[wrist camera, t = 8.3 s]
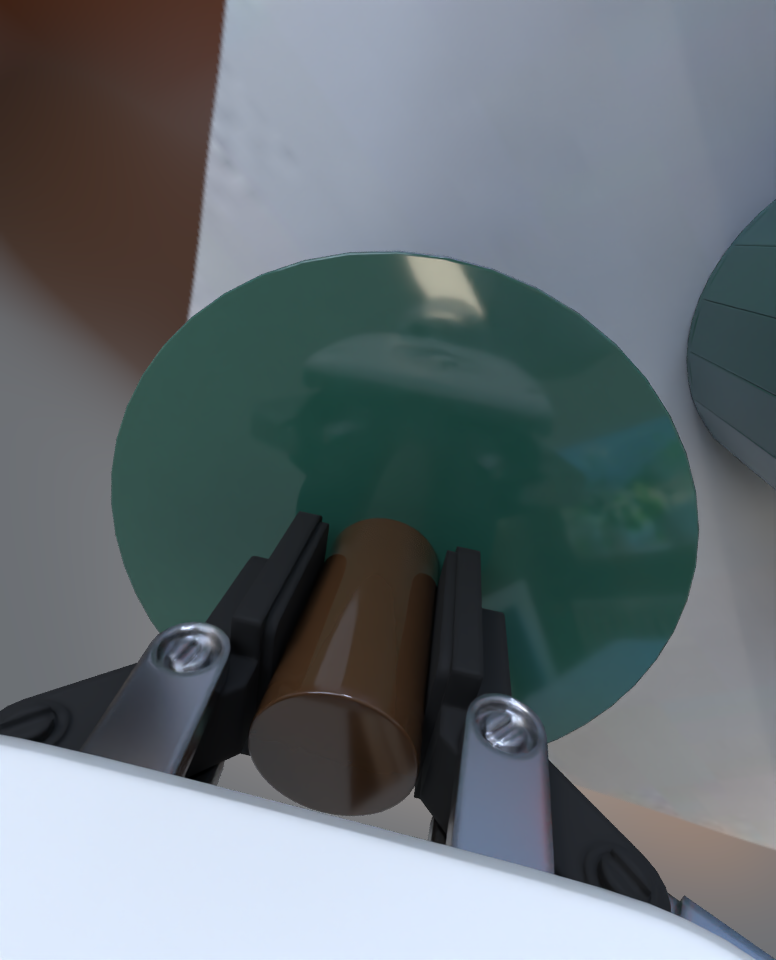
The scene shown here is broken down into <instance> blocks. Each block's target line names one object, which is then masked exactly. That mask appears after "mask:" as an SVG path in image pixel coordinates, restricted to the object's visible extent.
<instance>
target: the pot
mask: <svg viewBox="0 0 776 960" xmlns="http://www.w3.org/2000/svg"><path fill="white" fill-rule="evenodd" d="M687 372H688V382H689V386H690V390H691V395H692V399H693V401H694V404H695V406H696V408H697V411H698V413H699V415H700V417H701V419H702V420H703V422H704V423H705V425H706V427H707V428H708V430H709V431H710V432H711V434H712V436H713V437H714V438H715V439H716V440H717V441H718V442H719V443H720V444H721V445H723V446H724V447H725V448H726V449H727V450H728V451H730V452H731V453H732V454H733V455H734V456H735V457H737V458H738V459H739V460H740V461H741V462H742V463H744V464H745V465H746V466H747V467H748V468H750V469H751V470H752V471H753V472H754V473H756V474H757V475H758V476H759V477H760V478H762V479H763V480H764V481H765V482H766V483H768V484H769V485H770V486H771V487H772V488H774V489H775V490H776V199H775V200H774V201H773V202H772V203H771V204H770V205H768V206H767V207H766V208H765V209H764V210H763V211H761V212H760V213H759V214H758V215H757V216H756V217H755V218H754V219H753V220H752V221H751V223H750V224H749V225H748V226H747V227H746V228H745V229H744V230H743V231H742V232H741V233H740V234H739V235H738V237H737V238H736V239H735V241H734V242H733V243H732V244H731V246H730V247H729V248H728V250H727V251H726V252H725V253H724V255H723V256H722V258H721V260H720V261H719V263H718V264H717V266H716V268H715V269H714V271H713V272H712V274H711V276H710V278H709V280H708V282H707V284H706V286H705V288H704V290H703V292H702V294H701V296H700V299H699V301H698V304H697V307H696V310H695V313H694V316H693V319H692V324H691V328H690V333H689V338H688V348H687Z"/></svg>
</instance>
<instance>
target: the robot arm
mask: <svg viewBox="0 0 776 960" xmlns="http://www.w3.org/2000/svg"><path fill="white" fill-rule="evenodd" d="M328 533H329V523H324V522H322V516H320V515H316V514H311V513H307V512H302V511H299V512H298V513H297V515H296V517H295V518H294V520H293V521H292V523H291V524H290V526H289V528H288V529H287V531H286V532H285V534H284V535H283V537H282V539H281V540H280V542H279V543H278V545H277V546H276V548H275V550H274V551H273V553H272V554H271V556H270V557H269V559H267V558H263V557H258V556H252V557H251V558H250V559H249V560H248V562H247V563H246V565H245V566H244V567H243V569H242V570H241V572H240V573H239V575H238V576H237V577H236V579H235V580H234V582H233V583H232V585H231V586H230V587H229V589H228V590H227V592H226V593H225V595H224V596H223V597H222V599H221V600H220V602H219V603H218V605H217V606H216V607H215V609H214V610H213V612H212V613H211V615H210V616H209V618H208V619H207V620H206V622H205V623H203V622H188V623H181V624H178V625H175V626H172V627H169V628H167V629H166V630H164V631H163V632H161V633H159V634H158V635H157V636H156V637H155V639H154V640H153V641H152V642H151V643H150V645H149V646H148V648H147V649H146V651H145V652H144V654H143V655H142V657H141V658H140V660H139V661H138V663H135V664H132V665H129V666H126V667H123V668H120V669H117V670H113V671H110V672H107V673H104V674H101V675H98V676H95V677H92V678H89V679H85V680H82V681H79V682H76V683H73V684H70V685H67V686H64V687H61V688H57V689H54V690H51V691H48V692H45V693H42V694H39V695H36V696H33V697H30V698H26V699H23V700H21V701H19V702H16V703H14V704H12V705H9V706H7V707H6V708H4V709H3V710H1V711H0V960H776V959H774V958H773V957H771V956H770V955H769V954H767V953H766V952H764V951H763V950H761V949H760V948H759V947H757V946H755V945H754V944H753V943H751V942H750V941H749V940H747V939H746V938H744V937H743V936H741V935H740V934H739V933H737V932H736V931H734V930H733V929H731V928H730V927H728V926H727V925H726V924H724V923H723V922H721V921H720V920H719V919H717V918H716V917H714V916H713V915H711V914H710V913H709V912H707V911H706V910H704V909H703V908H701V907H700V906H699V905H697V904H696V903H694V902H693V901H691V900H690V899H689V898H687V897H686V896H683V898H682V899H681V901H678V900H677V899H676V898H674V897H673V896H672V895H670V894H669V893H667V890H666V887H665V885H664V883H663V882H662V880H661V878H660V876H659V874H658V873H657V871H656V870H655V868H654V867H653V866H652V865H651V864H650V862H649V861H648V860H647V859H646V858H645V857H644V856H643V854H642V853H641V852H640V851H639V850H638V849H637V848H635V846H633V844H632V843H631V842H630V841H629V840H628V839H627V838H626V837H625V836H624V835H623V834H622V833H621V832H620V831H619V830H618V829H617V828H616V827H615V826H614V825H613V824H612V823H611V822H610V821H609V820H608V819H607V818H606V817H605V816H604V815H603V814H602V813H601V812H600V811H599V810H598V809H597V808H596V807H595V806H594V805H593V804H592V803H591V802H590V801H589V800H588V799H587V798H586V797H585V796H584V795H583V794H582V793H581V792H580V791H579V790H578V789H577V788H576V787H575V786H574V785H573V784H572V783H571V782H570V781H569V780H568V779H567V778H566V777H565V776H564V775H563V774H562V773H561V772H560V771H559V770H558V769H557V768H556V767H555V766H554V765H553V764H552V763H551V762H550V761H549V760H548V745H547V735H546V731H545V727H544V725H543V724H542V722H541V720H540V718H539V717H538V716H537V715H536V713H535V712H534V711H533V710H532V709H531V708H530V707H529V706H527V705H526V704H524V703H523V702H521V701H520V700H518V699H516V698H513V697H512V693H511V682H510V670H509V658H508V647H507V635H506V624H505V616H504V614H503V613H502V612H497V611H493V610H489V609H484V608H482V593H481V554H480V551H477V550H472V549H468V548H463V547H459V546H457V548H456V551H455V552H454V551H449V550H447V552H446V556H445V560H444V564H443V567H442V571H441V575H440V579H439V583H438V587H437V595H436V605H435V615H434V625H433V635H432V645H431V655H430V665H429V675H428V685H427V695H426V705H425V715H424V732H423V742H422V752H421V762H420V771H419V776H418V780H417V782H416V785H415V792H414V797H415V798H419V799H421V801H422V802H423V803H424V805H425V806H426V807H427V809H428V810H429V812H430V813H431V814H432V815H433V817H432V820H431V823H430V829H429V835H428V840H424V839H420V838H416V837H413V836H409V835H405V834H401V833H397V832H394V831H390V830H386V829H382V828H378V827H375V826H371V825H366V824H363V823H359V822H355V821H351V820H347V819H343V818H340V817H336V816H332V815H328V814H324V813H320V812H317V811H313V810H309V809H305V808H301V807H297V806H293V805H289V804H285V803H282V802H278V801H274V800H270V799H266V798H262V797H258V796H254V795H250V794H247V793H243V792H239V791H235V790H231V789H227V788H223V787H219V786H217V784H218V781H219V778H220V776H221V773H222V770H223V766H224V761H225V760H227V759H229V758H231V757H233V756H236V755H238V754H240V753H241V754H245V755H249V756H250V753H249V748H248V732H249V727H250V724H251V722H252V719H253V717H254V715H255V713H256V711H257V708H258V706H259V704H260V702H261V700H262V697H263V695H264V693H265V691H266V689H267V686H268V684H269V682H270V680H271V678H272V676H273V673H274V671H275V669H276V667H277V665H278V662H279V660H280V658H281V656H282V654H283V651H284V649H285V647H286V645H287V643H288V641H289V638H290V636H291V634H292V632H293V630H294V627H295V625H296V623H297V621H298V619H299V617H300V614H301V612H302V610H303V608H304V606H305V603H306V601H307V599H308V597H309V595H310V592H311V590H312V588H313V586H314V584H315V582H316V579H317V577H318V575H319V573H320V571H321V568H322V566H323V564H324V561H325V554H326V547H327V540H328Z"/></svg>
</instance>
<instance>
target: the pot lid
mask: <svg viewBox="0 0 776 960" xmlns="http://www.w3.org/2000/svg"><path fill="white" fill-rule="evenodd" d="M111 482H112V483H111V484H112V485H111V505H112V512H113V519H114V526H115V535H116V538H117V542H118V546H119V549H120V553H121V557H122V560H123V564H124V567H125V569H126V572H127V574H128V577H129V579H130V581H131V584H132V586H133V589H134V591H135V593H136V595H137V597H138V599H139V601H140V602H141V604H142V606H143V608H144V610H145V611H146V613H147V615H148V617H149V619H150V620H151V622H152V623H153V625H154V626H155V627H156V629H157V630H158V632H159V633H161V632H163V631H164V630H166V629H167V628H169V627H172V626H175V625H178V624H181V623H188V622H203V623H205V622H206V620H207V619H208V618H209V616H210V615H211V613H212V612H213V610H214V609H215V607H216V606H217V605H218V603H219V602H220V600H221V599H222V597H223V596H224V595H225V593H226V592H227V590H228V589H229V587H230V586H231V585H232V583H233V582H234V580H235V579H236V577H237V576H238V575H239V573H240V572H241V570H242V569H243V567H244V566H245V565H246V563H247V562H248V560H249V559H250V558H251V557H252V556H258V557H263V558H267V559H269V557H270V556H271V554H272V553H273V551H274V550H275V548H276V546H277V545H278V543H279V542H280V540H281V539H282V537H283V535H284V534H285V532H286V531H287V529H288V528H289V526H290V524H291V523H292V521H293V520H294V518H295V517H296V515H297V513H298V512H299V511H302V512H307V513H311V514H316V515H320V516H322V522H324V523H329V533H328V540H327V547H326V554H325V561H324V564H323V566H322V568H321V571H320V573H319V575H318V577H317V579H316V582H315V584H314V586H313V588H312V590H311V592H310V595H309V597H308V599H307V601H306V603H305V606H304V608H303V610H302V612H301V614H300V617H299V619H298V621H297V623H296V625H295V627H294V630H293V632H292V634H291V636H290V638H289V641H288V643H287V645H286V647H285V649H284V651H283V654H282V656H281V658H280V660H279V662H278V665H277V667H276V669H275V671H274V673H273V676H272V678H271V680H270V682H269V684H268V686H267V689H266V691H265V693H264V695H263V697H262V700H261V702H260V704H259V706H258V708H257V711H256V713H255V715H254V717H253V719H252V722H251V724H250V727H249V732H248V748H249V753H250V756H251V758H252V761H253V763H254V765H255V766H256V768H257V770H258V771H259V773H260V774H261V775H262V777H263V778H264V779H265V780H266V781H267V782H268V783H269V784H270V785H271V786H272V787H273V788H275V789H276V790H277V791H278V792H280V793H281V794H282V795H284V796H286V797H287V798H289V799H291V800H292V801H294V802H297V803H298V804H300V805H303V806H305V807H308V808H310V809H313V810H316V811H320V812H323V813H328V814H334V815H341V816H364V815H370V814H375V813H379V812H382V811H385V810H387V809H390V808H392V807H394V806H395V805H397V804H399V803H400V802H401V801H403V800H404V799H405V798H406V797H407V796H408V795H409V794H410V792H411V791H412V789H413V788H414V786H415V785H416V782H417V780H418V776H419V771H420V762H421V752H422V742H423V732H424V715H425V705H426V695H427V685H428V675H429V665H430V655H431V645H432V635H433V625H434V615H435V605H436V595H437V587H438V583H439V579H440V575H441V571H442V567H443V564H444V560H445V556H446V552H447V550H449V551H454V552H455V551H456V548H457V546H459V547H463V548H468V549H472V550H477V551H480V554H481V593H482V608H484V609H489V610H493V611H497V612H502V613H503V614H504V616H505V624H506V635H507V647H508V658H509V670H510V682H511V693H512V697H513V698H516V699H518V700H520V701H521V702H523V703H524V704H526V705H527V706H529V707H530V708H531V709H532V710H533V711H534V712H535V713H536V715H537V716H538V717H539V718H540V720H541V722H542V724H543V725H544V727H545V731H546V735H547V743H550V742H552V741H555V740H557V739H559V738H561V737H563V736H565V735H567V734H569V733H571V732H572V731H574V730H576V729H578V728H580V727H582V726H584V725H586V724H587V723H588V722H590V721H591V720H593V719H594V718H596V717H597V716H598V715H600V714H601V713H603V712H604V711H606V710H607V709H609V708H610V707H611V706H613V705H614V704H615V703H616V702H617V701H618V700H619V699H620V698H621V697H622V696H624V695H625V694H626V693H627V692H628V691H629V690H630V689H631V688H632V687H634V686H635V685H636V683H637V682H638V681H639V680H640V679H641V678H642V676H643V675H644V674H645V673H646V672H647V670H648V669H649V668H650V667H651V666H652V665H653V663H654V662H655V661H656V660H657V658H658V656H659V655H660V653H661V652H662V650H663V648H664V647H665V645H666V644H667V642H668V640H669V639H670V637H671V636H672V634H673V632H674V630H675V628H676V626H677V623H678V621H679V619H680V616H681V614H682V612H683V609H684V607H685V605H686V602H687V600H688V596H689V592H690V588H691V584H692V580H693V576H694V572H695V568H696V559H697V548H698V536H699V523H698V510H697V498H696V490H695V486H694V482H693V478H692V474H691V470H690V466H689V462H688V458H687V454H686V451H685V449H684V447H683V444H682V442H681V440H680V437H679V435H678V433H677V431H676V428H675V426H674V424H673V421H672V419H671V417H670V415H669V413H668V412H667V410H666V408H665V407H664V405H663V404H662V402H661V401H660V399H659V397H658V396H657V394H656V393H655V391H654V390H653V388H652V386H651V385H650V383H649V382H648V380H647V379H646V377H645V376H644V375H643V374H642V373H641V372H640V371H639V370H638V368H637V367H636V366H635V365H634V364H633V363H632V362H631V361H630V359H629V358H628V357H627V356H626V355H625V354H624V353H623V351H622V350H621V349H620V348H619V347H618V346H617V345H616V344H615V343H614V342H613V341H612V340H610V339H609V338H608V337H607V336H606V335H604V334H603V333H602V332H601V331H600V330H598V329H597V328H596V327H595V326H594V325H592V324H591V323H590V322H589V321H588V320H586V319H585V318H584V317H583V316H582V315H580V314H579V313H578V312H576V311H575V310H573V309H571V308H570V307H568V306H566V305H565V304H563V303H561V302H560V301H558V300H557V299H555V298H553V297H552V296H550V295H548V294H547V293H545V292H543V291H542V290H540V289H538V288H537V287H535V286H533V285H530V284H528V283H526V282H523V281H521V280H519V279H516V278H514V277H511V276H509V275H507V274H504V273H502V272H500V271H497V270H495V269H493V268H489V267H485V266H482V265H478V264H474V263H470V262H467V261H463V260H459V259H455V258H452V257H448V256H441V255H432V254H424V253H415V252H407V251H371V252H349V253H343V254H337V255H332V256H326V257H320V258H314V259H309V260H303V261H300V262H297V263H294V264H291V265H288V266H285V267H282V268H279V269H276V270H273V271H270V272H267V273H264V274H261V275H259V276H257V277H256V278H254V279H252V280H250V281H248V282H246V283H244V284H242V285H240V286H238V287H236V288H234V289H232V290H230V291H228V292H226V293H224V294H223V295H221V296H220V297H219V298H217V299H216V300H215V301H213V302H212V303H210V304H209V305H208V306H206V307H205V308H204V309H202V310H201V311H199V312H198V313H197V314H195V315H194V316H193V317H191V318H190V319H189V320H188V321H187V322H186V323H185V324H184V325H183V326H182V327H181V328H180V329H179V330H178V332H176V333H175V334H174V335H173V336H172V337H171V339H169V340H168V341H167V342H166V343H165V345H164V346H163V347H162V348H161V350H160V351H159V353H158V354H157V356H156V357H155V358H154V360H153V361H152V362H151V364H150V365H149V367H148V368H147V369H146V371H145V372H144V374H143V375H142V377H141V379H140V381H139V383H138V385H137V387H136V389H135V391H134V393H133V395H132V397H131V399H130V401H129V403H128V405H127V407H126V411H125V414H124V417H123V420H122V424H121V427H120V430H119V433H118V436H117V439H116V446H115V453H114V459H113V465H112V474H111Z"/></svg>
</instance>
